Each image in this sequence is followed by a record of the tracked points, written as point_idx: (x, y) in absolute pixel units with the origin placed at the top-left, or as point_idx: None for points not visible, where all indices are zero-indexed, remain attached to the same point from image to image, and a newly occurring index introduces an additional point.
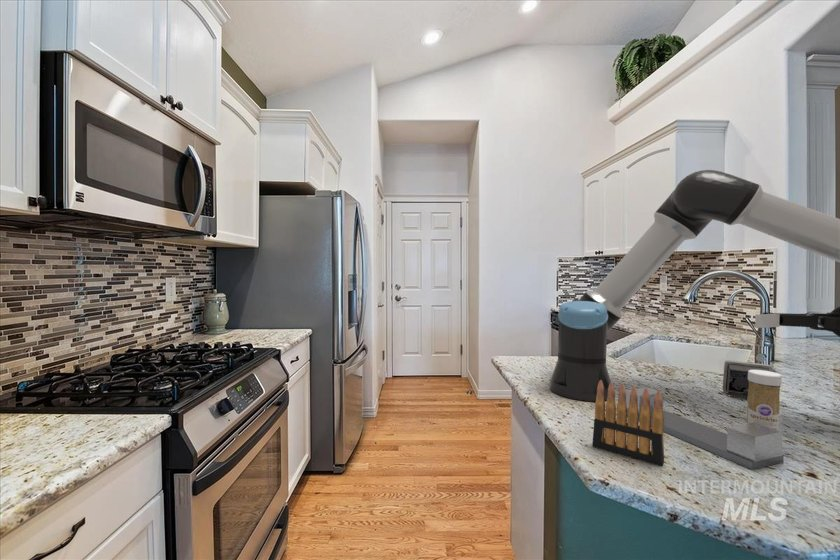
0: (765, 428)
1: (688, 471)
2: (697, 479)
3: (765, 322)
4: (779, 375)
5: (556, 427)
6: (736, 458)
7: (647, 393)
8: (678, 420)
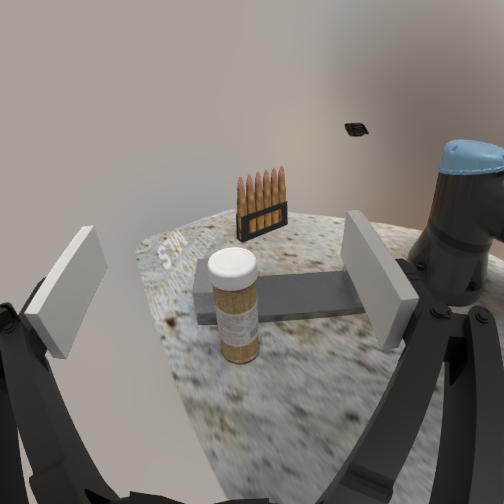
0: (207, 285)
1: (223, 246)
2: (211, 244)
3: (353, 259)
4: (209, 264)
5: (323, 217)
6: None
7: (247, 178)
8: (317, 297)
